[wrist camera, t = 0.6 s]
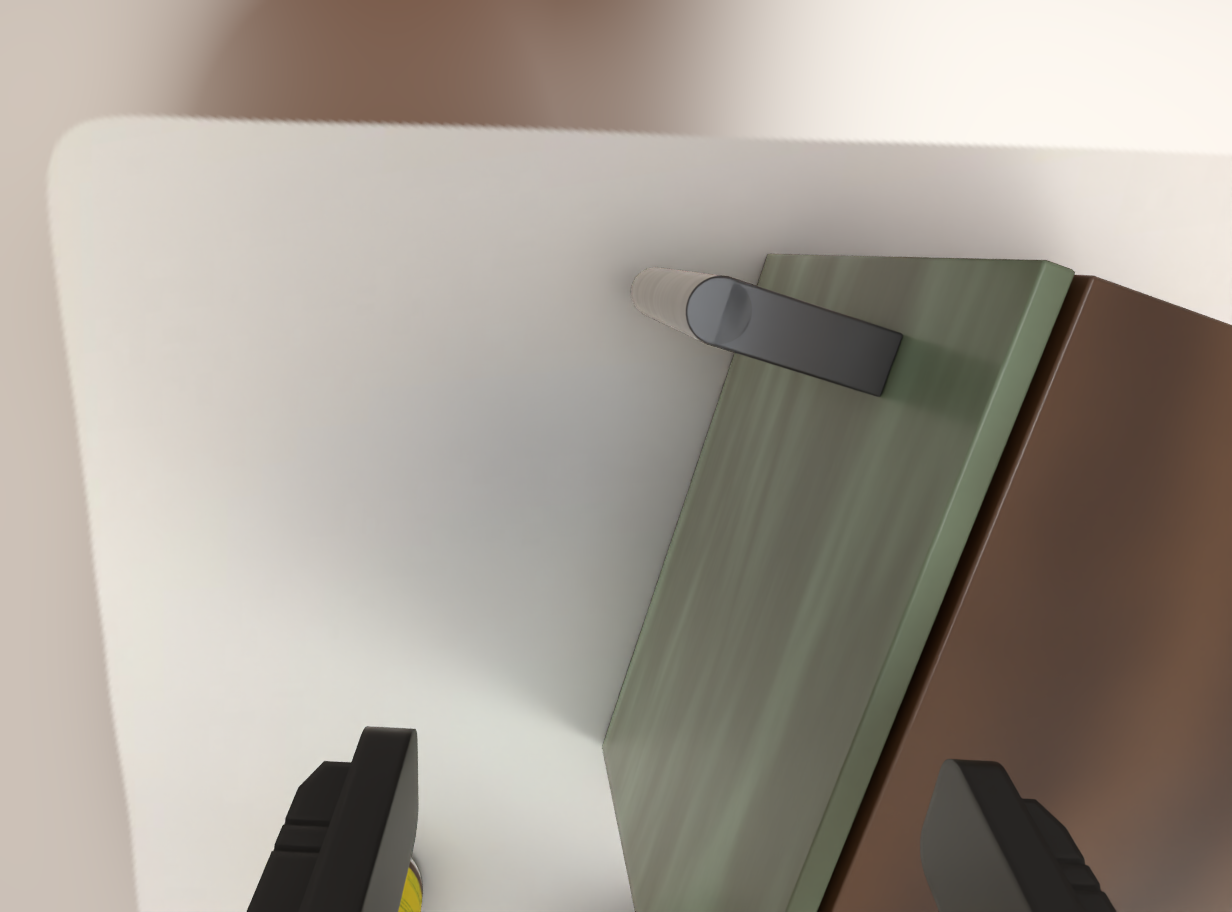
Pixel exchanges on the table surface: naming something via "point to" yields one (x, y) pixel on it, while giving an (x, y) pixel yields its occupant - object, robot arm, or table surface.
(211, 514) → the table surface
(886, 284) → the cupboard door
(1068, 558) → the cupboard
